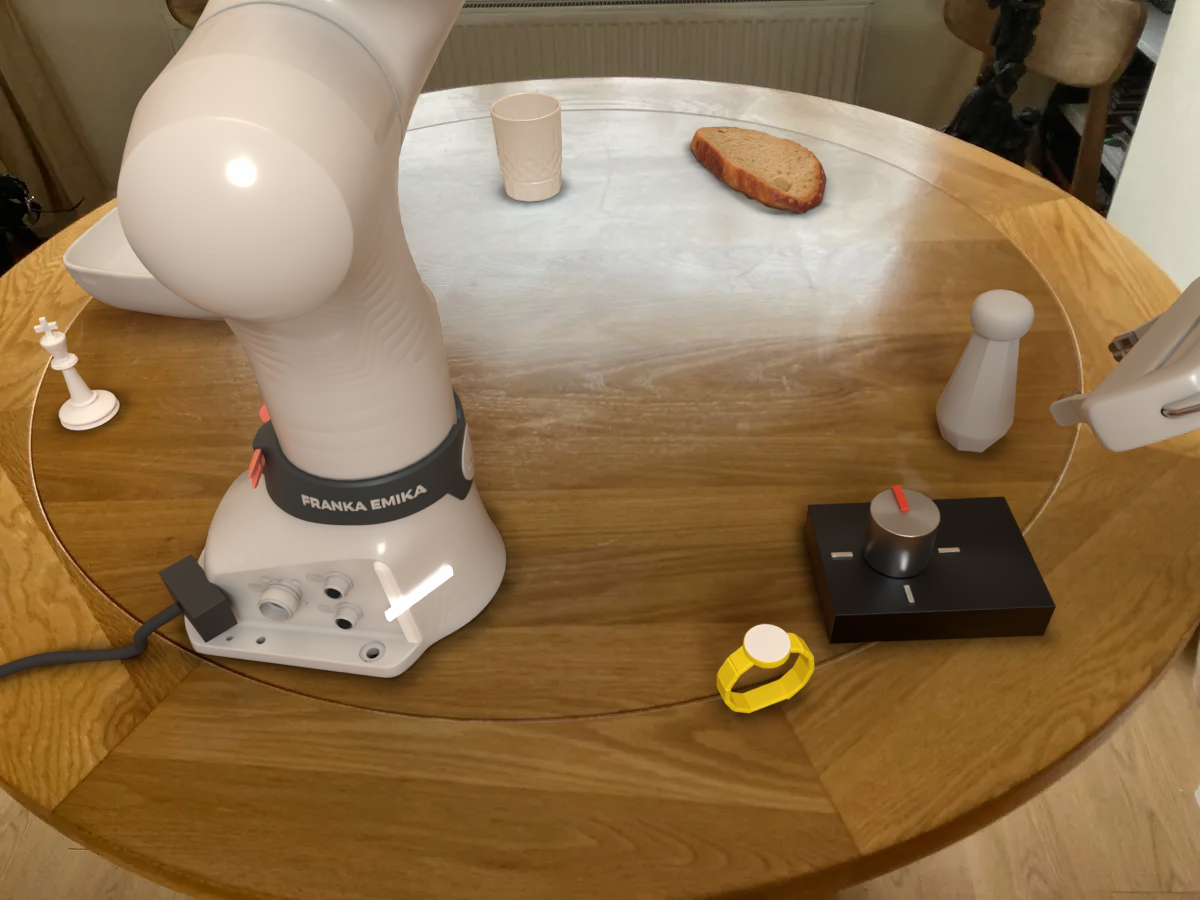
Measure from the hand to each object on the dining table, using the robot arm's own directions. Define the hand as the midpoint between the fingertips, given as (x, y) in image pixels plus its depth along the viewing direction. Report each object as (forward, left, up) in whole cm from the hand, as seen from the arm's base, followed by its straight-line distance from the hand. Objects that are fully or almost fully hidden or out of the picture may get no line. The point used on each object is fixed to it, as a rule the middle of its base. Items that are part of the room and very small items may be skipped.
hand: (1087, 379), depth 68 cm
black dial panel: (-13, -10, -9) cm, 19 cm away
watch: (-25, -19, -9) cm, 33 cm away
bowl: (-75, +34, -9) cm, 83 cm away
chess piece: (-80, +13, -9) cm, 82 cm away
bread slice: (-16, +53, -9) cm, 56 cm away
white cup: (-42, +52, -9) cm, 67 cm away
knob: (-15, -10, -6) cm, 19 cm away
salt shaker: (-5, +5, -9) cm, 12 cm away
